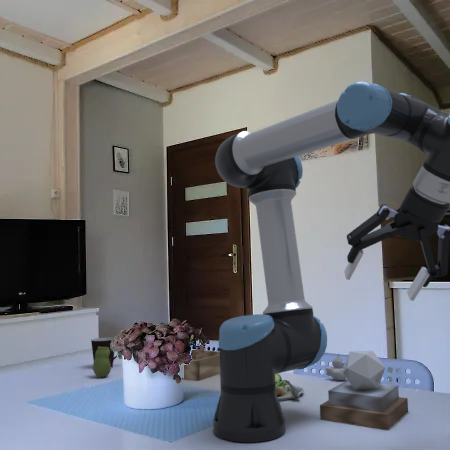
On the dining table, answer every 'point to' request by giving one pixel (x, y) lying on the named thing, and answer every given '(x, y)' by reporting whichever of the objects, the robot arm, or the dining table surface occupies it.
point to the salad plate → (286, 389)
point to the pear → (102, 362)
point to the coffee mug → (103, 343)
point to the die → (363, 370)
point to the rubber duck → (336, 369)
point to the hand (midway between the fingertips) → (378, 286)
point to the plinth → (365, 414)
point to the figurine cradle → (203, 366)
